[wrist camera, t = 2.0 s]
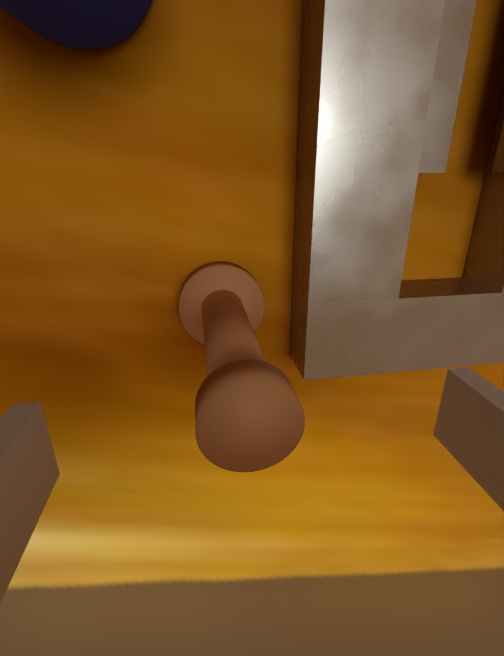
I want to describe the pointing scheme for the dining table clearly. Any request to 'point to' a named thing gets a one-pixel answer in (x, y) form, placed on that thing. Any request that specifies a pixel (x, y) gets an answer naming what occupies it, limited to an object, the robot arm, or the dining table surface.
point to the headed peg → (237, 373)
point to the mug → (80, 19)
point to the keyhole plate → (386, 193)
